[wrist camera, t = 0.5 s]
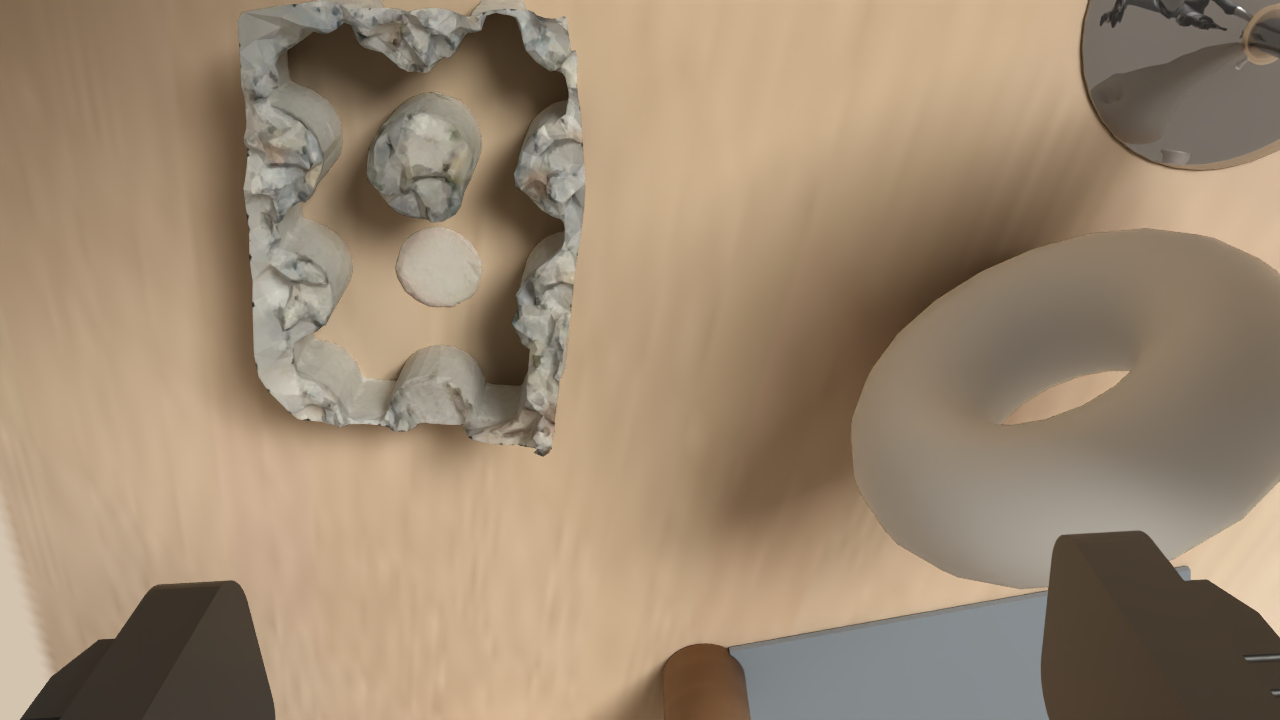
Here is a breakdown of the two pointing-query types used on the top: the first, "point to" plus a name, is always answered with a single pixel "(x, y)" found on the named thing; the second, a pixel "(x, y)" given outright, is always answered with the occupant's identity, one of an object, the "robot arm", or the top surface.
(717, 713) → the post
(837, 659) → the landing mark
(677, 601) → the top surface
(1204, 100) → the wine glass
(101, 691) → the robot arm
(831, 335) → the top surface
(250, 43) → the egg carton
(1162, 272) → the donut
